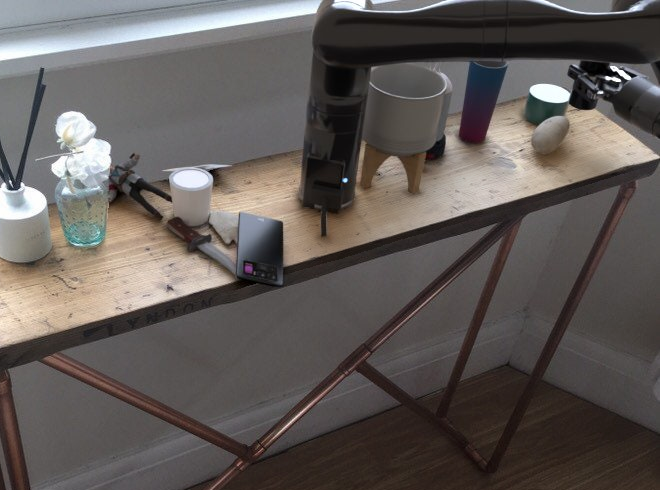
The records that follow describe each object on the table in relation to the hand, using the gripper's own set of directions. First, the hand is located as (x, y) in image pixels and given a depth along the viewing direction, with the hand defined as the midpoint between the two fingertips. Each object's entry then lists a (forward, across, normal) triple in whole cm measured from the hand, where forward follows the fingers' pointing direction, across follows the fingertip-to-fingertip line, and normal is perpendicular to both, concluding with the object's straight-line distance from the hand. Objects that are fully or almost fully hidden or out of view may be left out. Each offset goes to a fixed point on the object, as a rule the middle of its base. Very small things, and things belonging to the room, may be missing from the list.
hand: (581, 67), depth 163 cm
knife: (-7, +78, +12) cm, 79 cm away
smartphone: (-13, +73, +11) cm, 75 cm away
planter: (-1, +41, +13) cm, 43 cm away
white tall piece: (+5, +30, +13) cm, 33 cm away
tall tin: (-3, 0, +6) cm, 7 cm away
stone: (-4, +7, +13) cm, 15 cm away
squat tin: (+6, 0, +13) cm, 14 cm away
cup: (+5, +18, +13) cm, 23 cm away
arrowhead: (-9, +73, +12) cm, 75 cm away
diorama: (+13, +72, +11) cm, 74 cm away
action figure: (+2, +83, +11) cm, 83 cm away
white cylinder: (+1, +78, +13) cm, 79 cm away
